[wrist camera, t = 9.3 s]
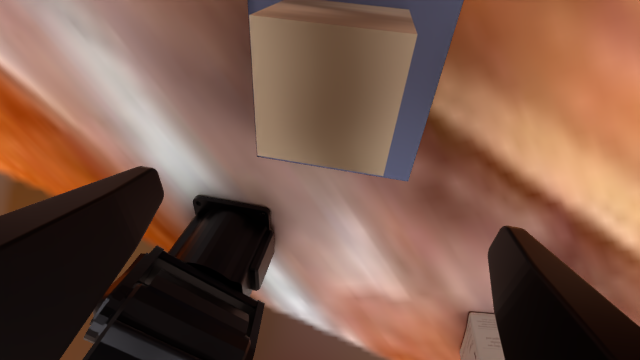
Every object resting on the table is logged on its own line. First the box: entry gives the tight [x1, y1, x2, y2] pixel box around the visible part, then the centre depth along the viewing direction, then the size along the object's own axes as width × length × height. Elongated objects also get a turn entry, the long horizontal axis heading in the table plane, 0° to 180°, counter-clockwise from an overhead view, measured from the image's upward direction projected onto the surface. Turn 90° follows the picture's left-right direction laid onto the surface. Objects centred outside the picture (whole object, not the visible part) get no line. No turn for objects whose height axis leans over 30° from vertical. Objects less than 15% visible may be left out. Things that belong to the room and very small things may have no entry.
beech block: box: [249, 0, 417, 176], centre depth 13 cm, size 5×5×5 cm
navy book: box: [248, 0, 464, 181], centre depth 16 cm, size 9×12×3 cm
